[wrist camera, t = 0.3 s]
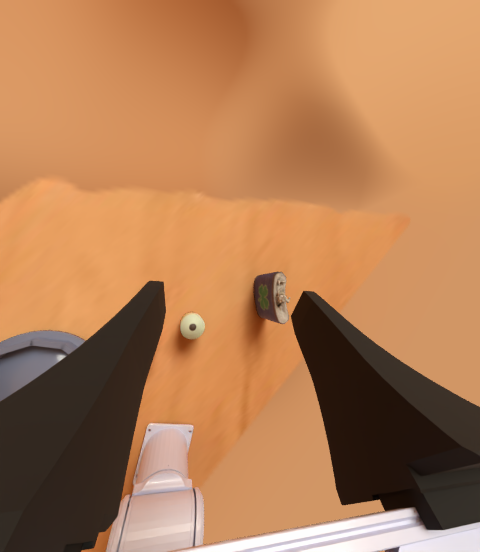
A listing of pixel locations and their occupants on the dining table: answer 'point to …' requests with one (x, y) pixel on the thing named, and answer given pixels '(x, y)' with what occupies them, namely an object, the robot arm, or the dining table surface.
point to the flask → (271, 297)
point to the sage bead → (192, 325)
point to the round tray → (32, 357)
